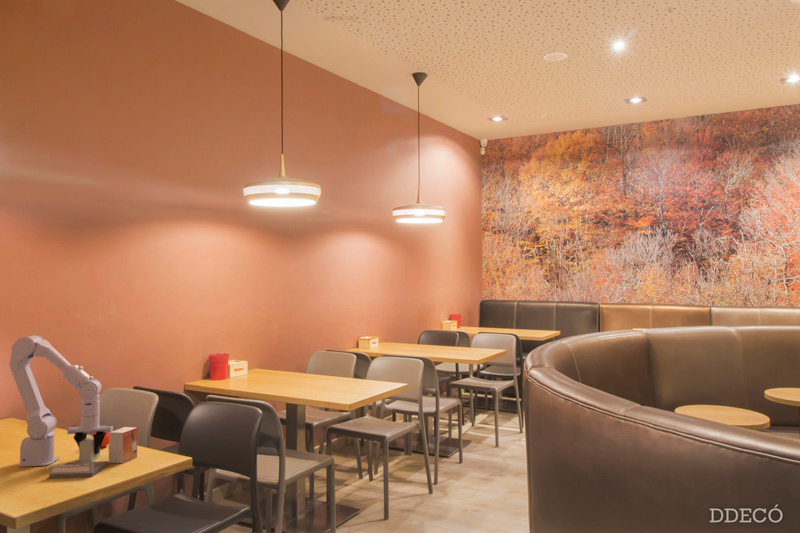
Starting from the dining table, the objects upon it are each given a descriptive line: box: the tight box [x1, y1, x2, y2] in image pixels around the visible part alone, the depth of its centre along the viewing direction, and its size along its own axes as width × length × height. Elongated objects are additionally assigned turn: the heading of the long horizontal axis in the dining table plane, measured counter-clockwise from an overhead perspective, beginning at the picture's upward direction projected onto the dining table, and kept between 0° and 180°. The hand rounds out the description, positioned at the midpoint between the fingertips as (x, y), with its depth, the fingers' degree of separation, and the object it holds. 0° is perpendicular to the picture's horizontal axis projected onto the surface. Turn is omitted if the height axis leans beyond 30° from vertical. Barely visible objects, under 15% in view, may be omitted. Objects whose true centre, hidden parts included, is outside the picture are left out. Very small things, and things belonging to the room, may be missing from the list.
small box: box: [108, 426, 138, 464], centre depth 195 cm, size 8×6×10 cm
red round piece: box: [91, 433, 109, 448], centre depth 212 cm, size 8×7×7 cm
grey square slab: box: [48, 460, 109, 479], centre depth 183 cm, size 13×12×4 cm
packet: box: [78, 436, 101, 462], centre depth 196 cm, size 4×7×7 cm, turn 6°
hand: (90, 453), depth 196 cm, fingers closed on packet, 4 cm apart
